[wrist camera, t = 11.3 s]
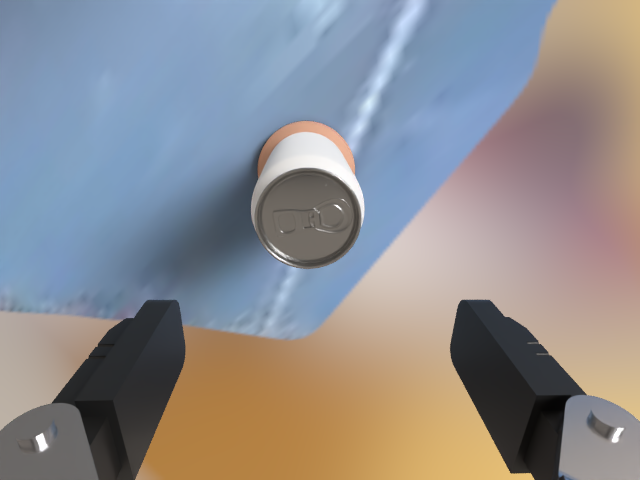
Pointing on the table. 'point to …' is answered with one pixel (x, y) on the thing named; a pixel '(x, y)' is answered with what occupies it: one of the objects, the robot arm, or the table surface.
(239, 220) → the table surface
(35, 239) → the table surface
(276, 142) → the peach round disc
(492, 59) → the table surface
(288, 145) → the can
